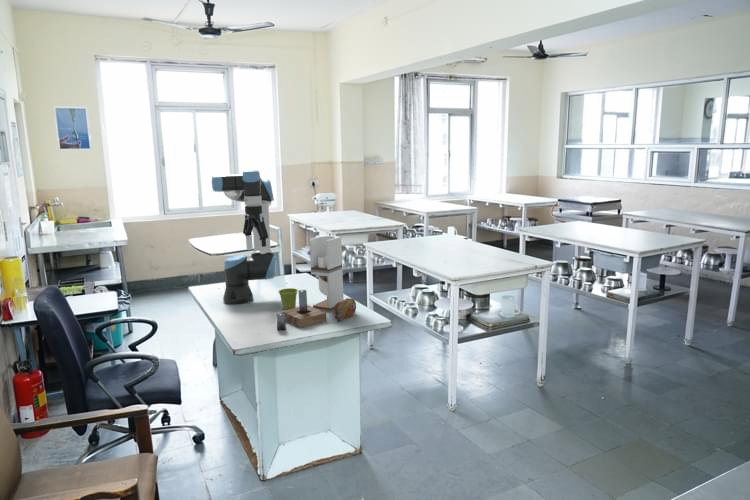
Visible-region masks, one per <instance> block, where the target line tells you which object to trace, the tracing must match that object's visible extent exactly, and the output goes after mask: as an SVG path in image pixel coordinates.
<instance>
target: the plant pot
mask: <svg viewBox="0 0 750 500" xmlns="http://www.w3.org/2000/svg"><path fill="white" fill-rule="evenodd" d="M298 291H299V290H298V288H293V287H291V288H290V287H289V288H283V289H280V290H279V291H278V293H279V295H280V300H281V304H282V308H283V309H284V310H289V309H293V308H296V306H297V305H296V304H297V294H298V293H299V292H298Z"/></svg>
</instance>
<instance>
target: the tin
mask: <svg viewBox="0 0 750 500" xmlns="http://www.w3.org/2000/svg"><path fill="white" fill-rule="evenodd" d="M356 310H357V303H356V300H355V299H354V298H349V297H347V298H345V299H344V300H343V301H340V302H338V303H337V304H336V305H335V307H334V311H333V318H334V319H335V320H336V321H341V322H342V321H345V320H347V319H349V318H350V317H353V316H354V315H355V313H356Z"/></svg>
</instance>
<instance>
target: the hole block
mask: <svg viewBox="0 0 750 500" xmlns="http://www.w3.org/2000/svg"><path fill="white" fill-rule="evenodd" d="M307 311H308V313H306V314H300V310H299V306H297V307H295V308H291V309H284V310H282V311H281V313H285V323H288V324H291V325H293V326H295V327H298V328H299V329H301V328H305V327H309V326H313V325H316V324H320V323H324V322H327V312H325V311H321V310H319V309H316V308H314V307H313V306H311V305H308V304H307Z"/></svg>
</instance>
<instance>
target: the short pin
mask: <svg viewBox="0 0 750 500" xmlns="http://www.w3.org/2000/svg"><path fill="white" fill-rule="evenodd" d="M276 329H277V331H278V332H284V331H286V329H287V327H286V321H285V313H282V312H279V313H276Z"/></svg>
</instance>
